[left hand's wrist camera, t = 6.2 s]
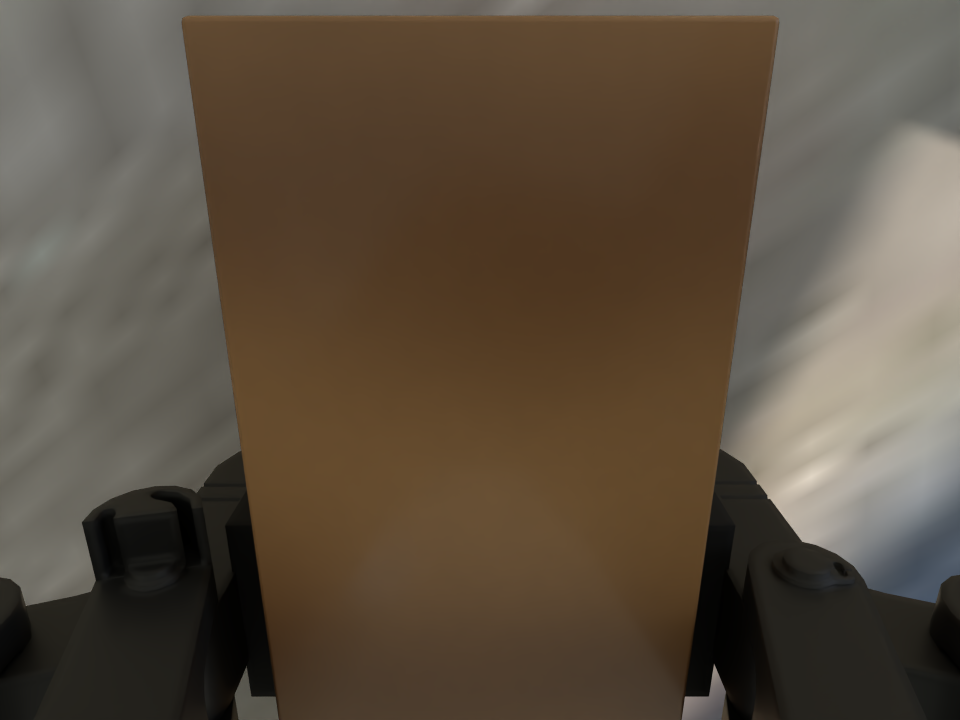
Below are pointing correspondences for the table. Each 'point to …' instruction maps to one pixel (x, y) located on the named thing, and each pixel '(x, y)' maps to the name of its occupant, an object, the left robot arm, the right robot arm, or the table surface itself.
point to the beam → (480, 344)
